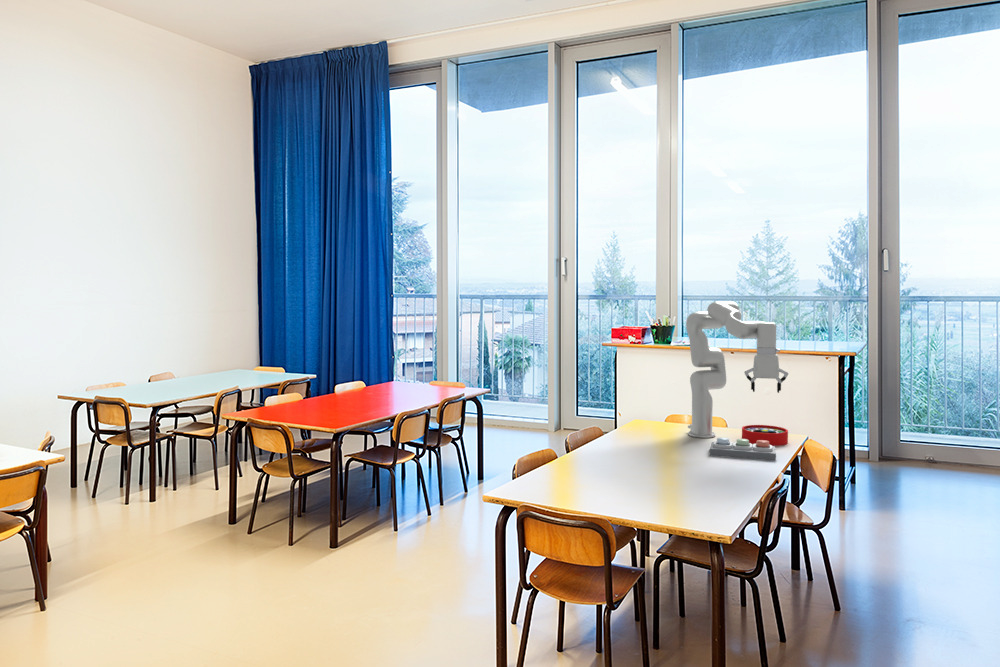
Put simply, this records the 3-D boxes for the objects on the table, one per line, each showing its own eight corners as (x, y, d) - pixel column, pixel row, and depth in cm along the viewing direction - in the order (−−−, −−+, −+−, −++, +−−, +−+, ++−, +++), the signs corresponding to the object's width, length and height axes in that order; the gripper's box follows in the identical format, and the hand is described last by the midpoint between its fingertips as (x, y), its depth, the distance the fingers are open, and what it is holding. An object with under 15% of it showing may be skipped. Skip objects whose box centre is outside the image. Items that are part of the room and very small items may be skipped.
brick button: (756, 446, 286) (756, 442, 286) (756, 444, 291) (756, 439, 291) (769, 447, 284) (769, 443, 284) (768, 445, 289) (769, 440, 289)
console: (709, 455, 289) (709, 445, 288) (711, 448, 302) (711, 439, 301) (775, 460, 279) (775, 450, 279) (774, 453, 292) (774, 443, 292)
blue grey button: (716, 444, 292) (716, 439, 291) (717, 441, 296) (717, 437, 296) (728, 444, 290) (729, 440, 290) (729, 442, 294) (729, 437, 294)
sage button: (736, 445, 289) (736, 440, 289) (736, 443, 293) (736, 438, 293) (748, 446, 287) (748, 441, 287) (748, 443, 292) (749, 439, 292)
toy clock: (748, 433, 307) (737, 424, 326) (748, 446, 307) (737, 436, 327) (794, 433, 305) (780, 425, 324) (793, 446, 305) (779, 437, 325)
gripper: (788, 351, 286) (787, 391, 287) (744, 350, 292) (744, 389, 293) (789, 352, 279) (788, 394, 280) (744, 351, 285) (744, 392, 286)
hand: (765, 391), depth 286 cm, fingers open, 9 cm apart
